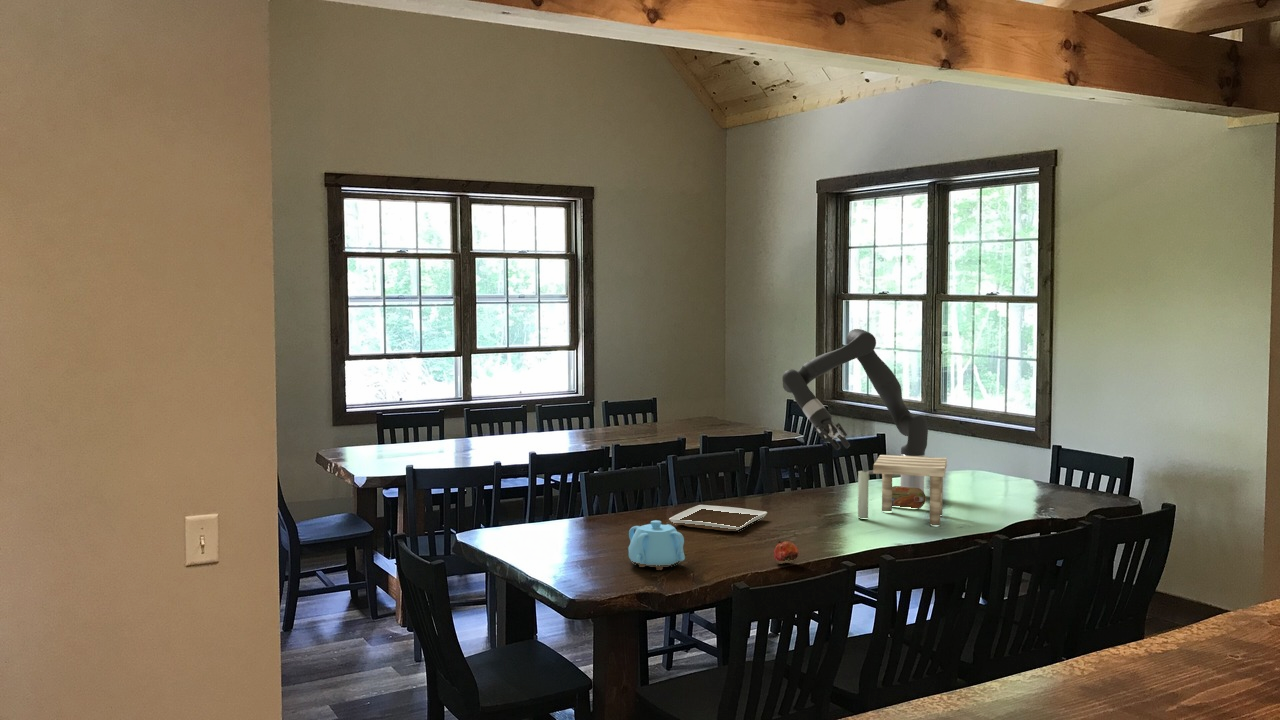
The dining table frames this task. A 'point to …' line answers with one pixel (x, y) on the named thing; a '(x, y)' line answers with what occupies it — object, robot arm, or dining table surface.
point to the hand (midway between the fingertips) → (843, 447)
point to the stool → (916, 467)
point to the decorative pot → (656, 544)
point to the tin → (908, 497)
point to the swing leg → (863, 493)
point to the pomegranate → (785, 551)
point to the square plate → (716, 508)
